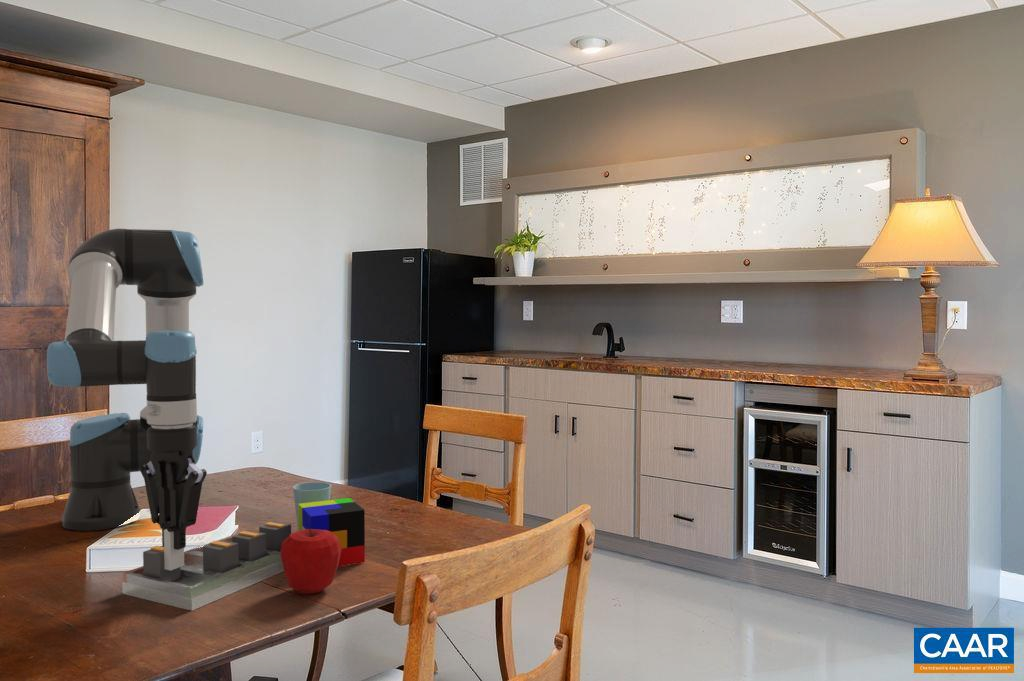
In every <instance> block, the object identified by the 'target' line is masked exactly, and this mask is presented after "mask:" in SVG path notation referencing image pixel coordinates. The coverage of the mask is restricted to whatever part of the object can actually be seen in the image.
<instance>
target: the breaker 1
mask: <svg viewBox="0 0 1024 681" xmlns="http://www.w3.org/2000/svg"><path fill="white" fill-rule="evenodd" d="M142 557H143V558H142V559H143V560H142V561H143V562H142V566H143V574H144V576H149V577H153V578H158V579H162V580H166V581H171V582H172V581H174V580H177V579H179V578H181V567H179V568H176V569H174V570H171V571H170V570H166V569H164V547H163V545H156V546H153V547H150V549H148V550H144V551H143V552H142Z"/></svg>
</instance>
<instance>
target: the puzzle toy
mask: <svg viewBox="0 0 1024 681" xmlns="http://www.w3.org/2000/svg"><path fill="white" fill-rule="evenodd" d="M365 513H366V512H365V508H363V507H361V505H359V504H358V503H356V502H355V501H354V500H352V498H350V497H346V498H337V499H331V500H327V501H318V502H309V503H301V504H298V525H297V531H300V530H304V529H309V528H310V529H317V530H327V531H331V532H332V533H333V534H334V535H335V536H336V537H337V538H338V540H339V543H340V546H341V549H342V550H341V554H340V559H339V564H338V567H342V565H345V566H349V565H348V564H351V565H355V564H354V563H358V564H362V563H361V562H366V561H365V559H366V558H365V557H366V554H365V553H366V550H365V549H366V548H365V546H366V541H365V538H366V533H365V532H366V531H365V518H366V517H365Z"/></svg>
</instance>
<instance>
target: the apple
mask: <svg viewBox="0 0 1024 681" xmlns="http://www.w3.org/2000/svg"><path fill="white" fill-rule="evenodd" d="M341 550H342V549H341V546H340V543H339V540H338V538H337V537H336V536H335V535H334V534H333V533H332V532H331V531H327V530H317V529H310V528H309V529H304V530H300V531H298V530H296V531H294V532H291V534H290V535H289V536H288V537H287V538H286V539H285V540H284V541H283V542H282V546H281V551H280V555H281V560H282V564H283V569H284V571H283V572H284V574H285V578H286V581H287V583H288V585H289V588H291V589H292V590H294V591H296V592H297V593H300V594H303V595H309V594H317V593H321V592H322V591H324V590H325V589H326V588H328V587H329V586H330V585H331V584H332V583H333V581H334V578H335V575H336V573H337V569H338V567H339V566H338V564H339V559H340V554H341Z"/></svg>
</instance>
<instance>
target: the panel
mask: <svg viewBox="0 0 1024 681" xmlns="http://www.w3.org/2000/svg"><path fill="white" fill-rule="evenodd" d="M238 534H239V532H238V533H235V534H232V535H230V536H226V537H224V538H223V537H222V538H220V539H217V540H216V541H220V540H223V541H228V542H232V536H235V535H238ZM209 544H210V542H209V543H206V544H203V545H204V546H206V545H209ZM197 547H198V548H197ZM197 547H195V548H191V549H189V550H186V551H185V550H184V566H182V567H181V578H179V579H177V580H174V581H172V582H171V581H166V580H162V579H158V578H153V577H149V576H144V574H143V565H142V566H139V567H136V568H133V569H131V570H127V571H124V572H122V583H121V584H122V595H126V596H130V597H135V598H138V599H142V600H147V601H150V602H151V601H152V602H155V603H159V604H163V605H168V606H171V607H176V608H179V609H184V610H188V611H190V612H191V611H195V610H197V609H199V608H202V607H204V606H206V605H209V604H211V603H214V602H215V601H218V600H221V599H222V598H225V597H228V596H229V595H231V594H235V593H236V592H238V591H241V590H243V589H246V588H248V587H250V586H252V585H255V584H257V583H259V582H262V581H264V580H266V579H269V578H272V577H274V576H276V575H278V574H281V573H283V572H284V569H283V564H282V560H281V555H280V551H281V550H280V551H274V550H268V549H266V556H265V557H263V558H260V559H258V560H255V561H253V562H250V561H245V560H240V559H239V567H237V568H235V569H232V570H230V571H227V572H225V573H219V572H214V571H209V570H204V569H203V547H200V546H197ZM199 547H200V548H199Z"/></svg>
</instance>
